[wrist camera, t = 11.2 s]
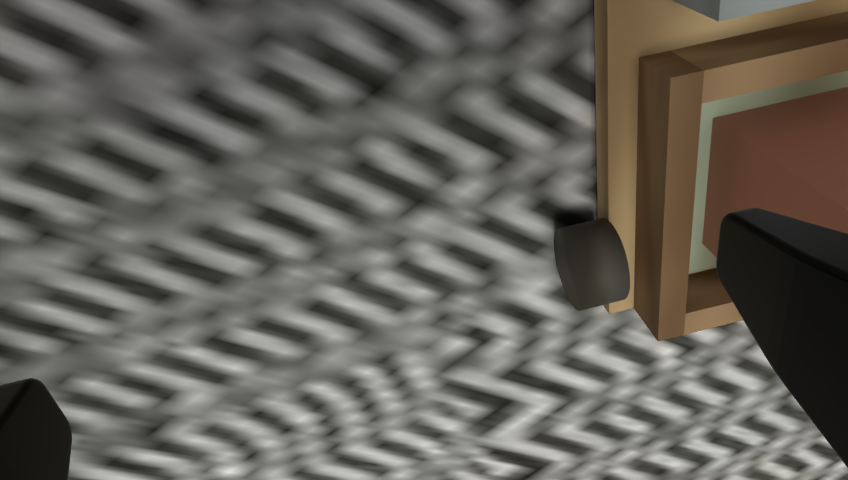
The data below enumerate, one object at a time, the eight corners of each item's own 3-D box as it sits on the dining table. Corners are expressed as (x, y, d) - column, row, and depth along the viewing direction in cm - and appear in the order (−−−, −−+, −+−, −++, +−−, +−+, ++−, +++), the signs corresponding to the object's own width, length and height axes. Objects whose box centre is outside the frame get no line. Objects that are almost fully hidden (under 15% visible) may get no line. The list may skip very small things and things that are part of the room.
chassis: (558, 308, 26) (592, 368, 24) (518, -347, 16) (573, -387, 13) (915, 221, 27) (990, 268, 25) (1113, -452, 17) (1292, -512, 14)
